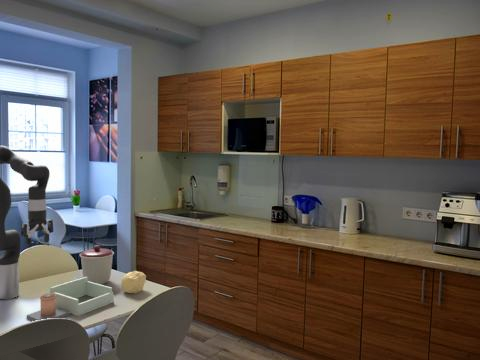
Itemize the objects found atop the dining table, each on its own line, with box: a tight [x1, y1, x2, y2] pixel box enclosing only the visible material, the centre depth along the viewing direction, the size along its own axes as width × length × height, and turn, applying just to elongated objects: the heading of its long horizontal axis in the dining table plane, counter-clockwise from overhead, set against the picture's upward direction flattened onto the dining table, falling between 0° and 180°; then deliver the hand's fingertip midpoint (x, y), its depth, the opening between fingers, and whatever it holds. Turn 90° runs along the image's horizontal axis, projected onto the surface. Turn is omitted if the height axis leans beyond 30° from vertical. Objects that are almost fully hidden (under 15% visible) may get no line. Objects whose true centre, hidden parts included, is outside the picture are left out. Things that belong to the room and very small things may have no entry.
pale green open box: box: [49, 277, 114, 317], centre depth 192 cm, size 20×20×9 cm
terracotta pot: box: [39, 292, 56, 316], centre depth 177 cm, size 6×6×8 cm
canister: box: [79, 244, 115, 285], centre depth 223 cm, size 18×18×21 cm
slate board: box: [26, 308, 69, 322], centre depth 177 cm, size 12×12×2 cm
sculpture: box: [121, 270, 147, 294], centre depth 210 cm, size 12×12×11 cm
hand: (37, 243), depth 185 cm, fingers open, 8 cm apart
